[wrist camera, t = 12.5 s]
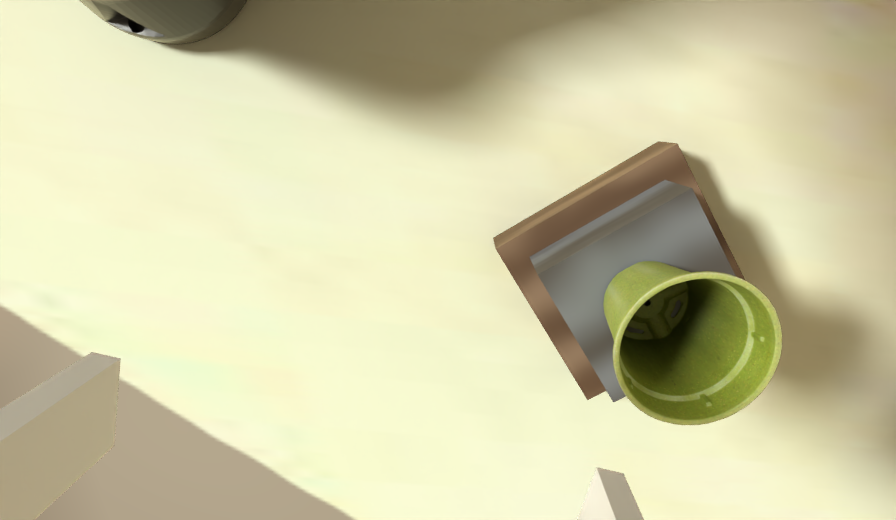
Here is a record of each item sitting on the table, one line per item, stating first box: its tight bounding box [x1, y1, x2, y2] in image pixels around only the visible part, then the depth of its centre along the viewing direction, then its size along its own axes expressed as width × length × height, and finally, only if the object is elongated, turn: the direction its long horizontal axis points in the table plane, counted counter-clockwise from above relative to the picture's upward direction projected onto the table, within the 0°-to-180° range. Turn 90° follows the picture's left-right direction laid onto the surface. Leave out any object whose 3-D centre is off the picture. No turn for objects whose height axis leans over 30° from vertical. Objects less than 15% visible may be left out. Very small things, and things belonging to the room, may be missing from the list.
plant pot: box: [603, 261, 782, 425], centre depth 33 cm, size 9×9×9 cm
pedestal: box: [493, 142, 745, 402], centre depth 42 cm, size 16×16×9 cm
